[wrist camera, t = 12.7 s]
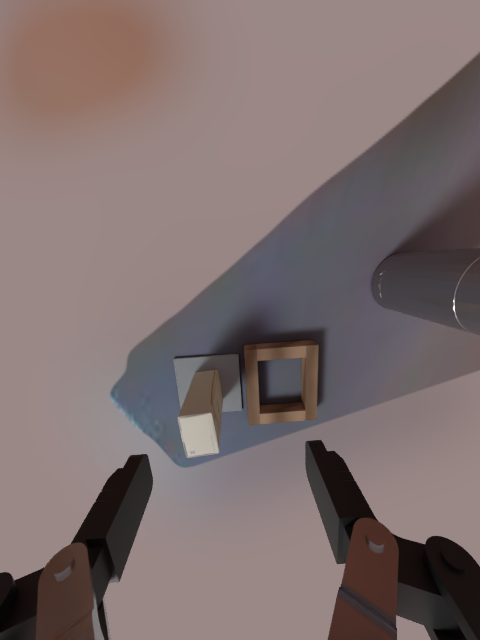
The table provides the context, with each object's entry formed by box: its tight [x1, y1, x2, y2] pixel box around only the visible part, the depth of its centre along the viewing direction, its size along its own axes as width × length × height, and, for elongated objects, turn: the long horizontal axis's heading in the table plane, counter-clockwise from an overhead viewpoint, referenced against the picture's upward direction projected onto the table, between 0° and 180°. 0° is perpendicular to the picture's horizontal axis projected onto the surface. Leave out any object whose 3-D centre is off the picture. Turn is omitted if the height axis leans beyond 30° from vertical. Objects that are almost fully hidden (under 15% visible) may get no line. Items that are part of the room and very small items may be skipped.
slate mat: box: [173, 354, 242, 412], centre depth 40 cm, size 11×11×1 cm
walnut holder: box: [244, 340, 318, 425], centre depth 40 cm, size 12×14×2 cm
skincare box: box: [178, 370, 223, 458], centre depth 34 cm, size 6×4×12 cm
